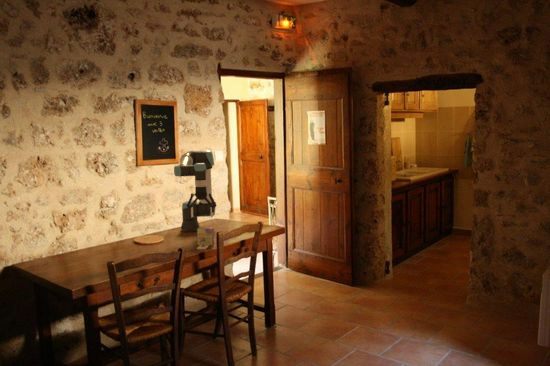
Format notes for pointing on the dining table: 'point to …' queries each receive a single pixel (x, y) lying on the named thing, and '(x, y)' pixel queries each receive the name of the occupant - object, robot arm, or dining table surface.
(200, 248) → the joist line
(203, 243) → the awl
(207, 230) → the box
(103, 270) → the dining table surface
